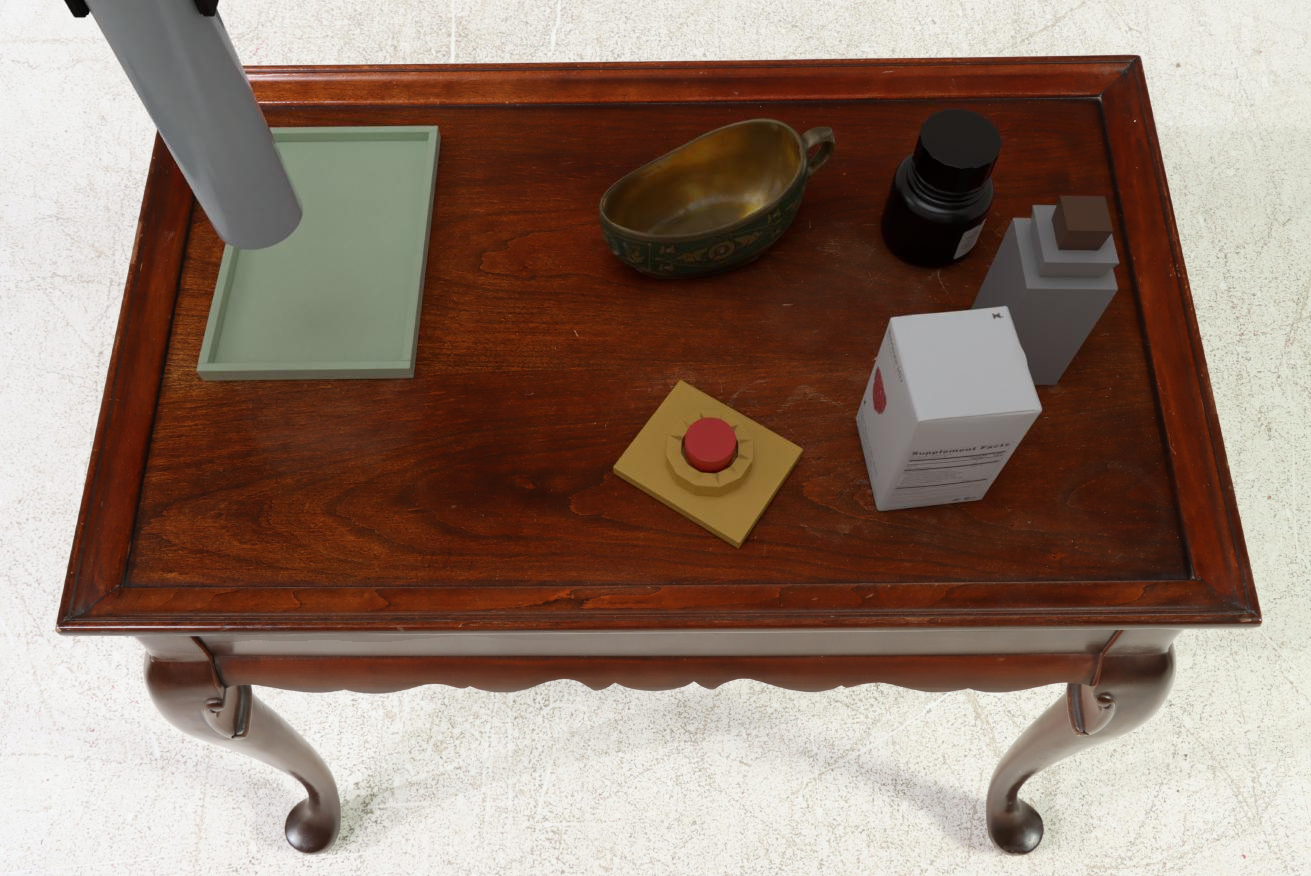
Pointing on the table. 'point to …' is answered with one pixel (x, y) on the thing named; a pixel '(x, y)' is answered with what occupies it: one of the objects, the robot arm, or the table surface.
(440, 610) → the table surface
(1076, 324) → the perfume bottle
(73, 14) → the robot arm
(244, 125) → the grey cylinder
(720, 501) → the block
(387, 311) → the tray
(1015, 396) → the white product box
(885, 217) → the ink bottle
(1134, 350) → the table surface
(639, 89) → the table surface
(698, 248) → the cup
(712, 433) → the button
